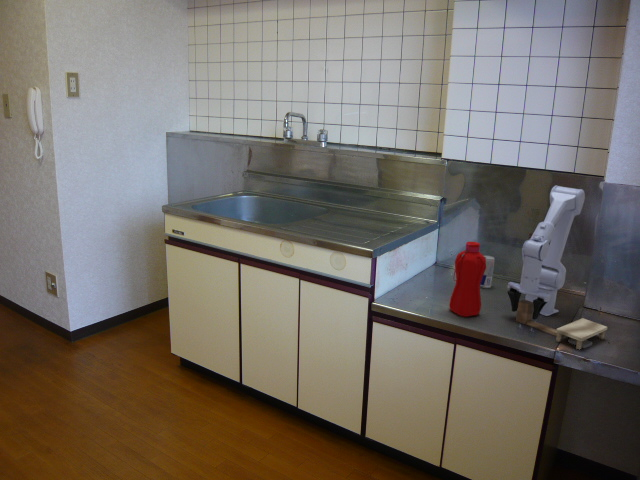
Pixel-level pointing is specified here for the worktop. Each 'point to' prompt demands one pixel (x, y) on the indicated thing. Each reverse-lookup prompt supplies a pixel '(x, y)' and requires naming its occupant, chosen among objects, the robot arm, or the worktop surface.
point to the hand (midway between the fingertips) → (524, 314)
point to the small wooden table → (581, 331)
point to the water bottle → (468, 281)
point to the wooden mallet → (530, 317)
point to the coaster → (584, 343)
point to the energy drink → (488, 272)
